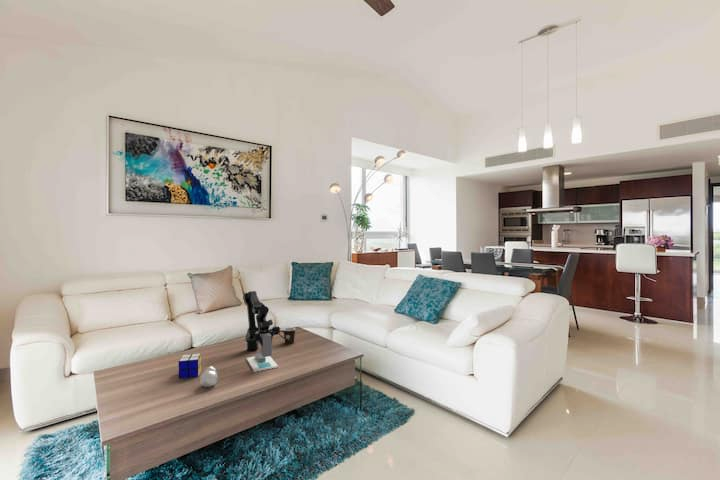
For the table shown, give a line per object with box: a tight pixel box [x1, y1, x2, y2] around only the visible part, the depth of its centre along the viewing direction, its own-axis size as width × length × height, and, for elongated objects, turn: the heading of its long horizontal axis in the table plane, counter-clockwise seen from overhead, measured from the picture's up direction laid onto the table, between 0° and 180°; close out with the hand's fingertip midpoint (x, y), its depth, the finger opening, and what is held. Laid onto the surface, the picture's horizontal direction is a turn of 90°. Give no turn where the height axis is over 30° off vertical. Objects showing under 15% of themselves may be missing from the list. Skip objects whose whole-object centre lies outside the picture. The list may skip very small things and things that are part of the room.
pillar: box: [260, 333, 273, 357], centre depth 208 cm, size 5×5×12 cm
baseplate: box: [246, 352, 279, 373], centre depth 213 cm, size 22×14×4 cm, turn 29°
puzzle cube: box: [178, 353, 202, 380], centre depth 196 cm, size 10×10×10 cm
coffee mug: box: [278, 327, 296, 345], centre depth 252 cm, size 12×9×10 cm
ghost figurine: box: [199, 365, 219, 388], centre depth 182 cm, size 9×10×10 cm
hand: (266, 345), depth 207 cm, fingers closed on pillar, 5 cm apart
